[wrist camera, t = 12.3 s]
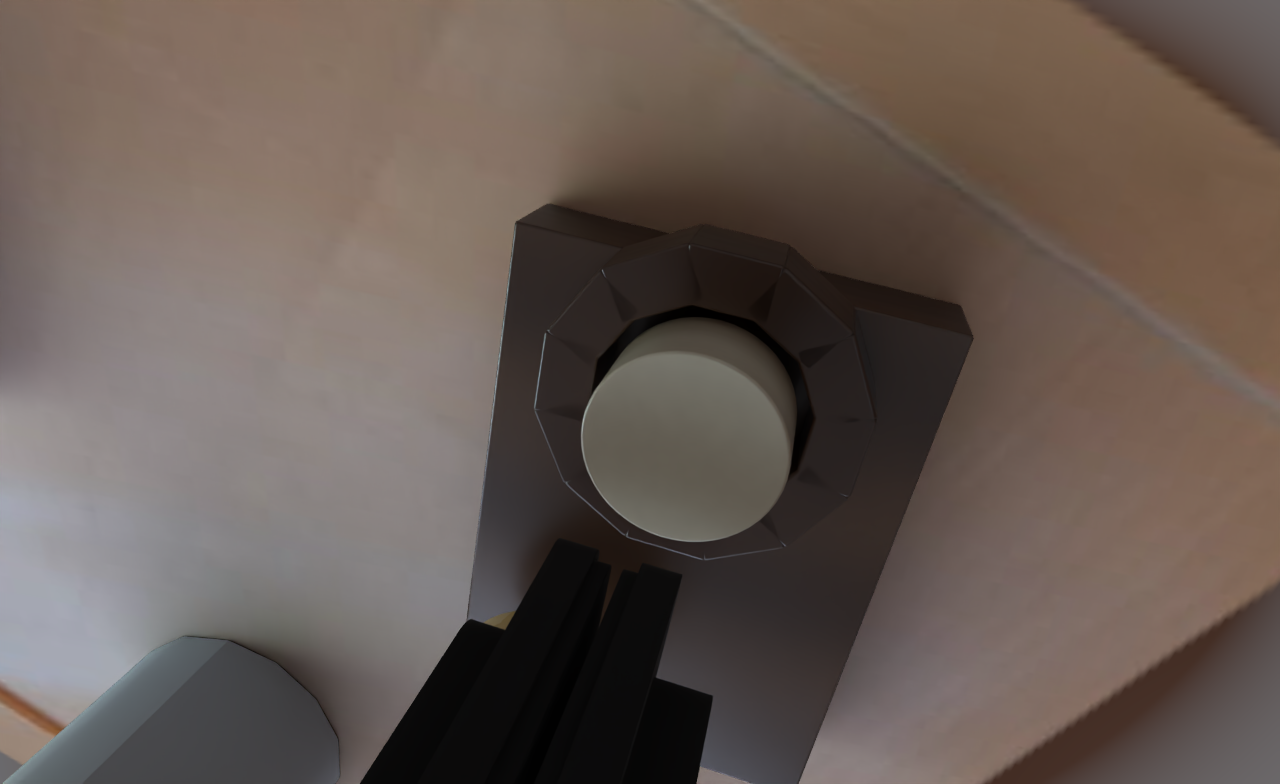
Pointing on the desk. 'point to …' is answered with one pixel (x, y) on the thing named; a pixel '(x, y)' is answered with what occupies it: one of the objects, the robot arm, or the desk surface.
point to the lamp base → (812, 498)
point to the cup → (194, 725)
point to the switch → (692, 430)
